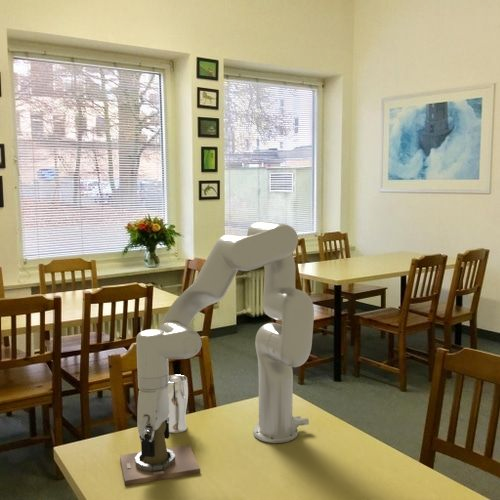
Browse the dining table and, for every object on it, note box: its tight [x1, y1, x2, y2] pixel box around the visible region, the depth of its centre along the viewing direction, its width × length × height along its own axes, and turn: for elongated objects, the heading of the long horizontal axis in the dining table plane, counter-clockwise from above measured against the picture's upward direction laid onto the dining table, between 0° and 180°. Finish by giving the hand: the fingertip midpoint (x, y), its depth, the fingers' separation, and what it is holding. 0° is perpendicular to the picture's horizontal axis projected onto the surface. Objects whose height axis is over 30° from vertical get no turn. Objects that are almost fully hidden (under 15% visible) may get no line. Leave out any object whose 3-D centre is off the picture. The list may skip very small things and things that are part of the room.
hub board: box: [119, 444, 201, 486], centre depth 138 cm, size 18×13×1 cm
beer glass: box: [167, 374, 189, 434], centre depth 159 cm, size 7×7×15 cm
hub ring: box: [135, 449, 175, 472], centre depth 138 cm, size 10×10×2 cm
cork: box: [144, 421, 168, 464], centre depth 138 cm, size 6×6×11 cm
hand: (155, 446), depth 138 cm, fingers open, 9 cm apart
